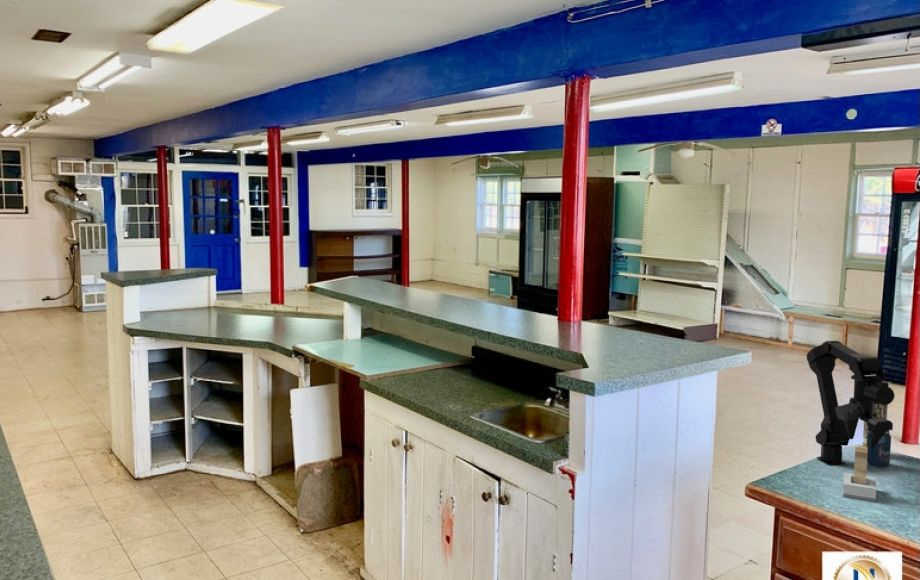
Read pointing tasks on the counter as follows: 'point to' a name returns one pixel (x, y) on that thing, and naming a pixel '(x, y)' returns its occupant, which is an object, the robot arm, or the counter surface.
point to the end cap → (859, 488)
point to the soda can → (879, 451)
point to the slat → (860, 465)
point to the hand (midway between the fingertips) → (861, 443)
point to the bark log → (881, 413)
